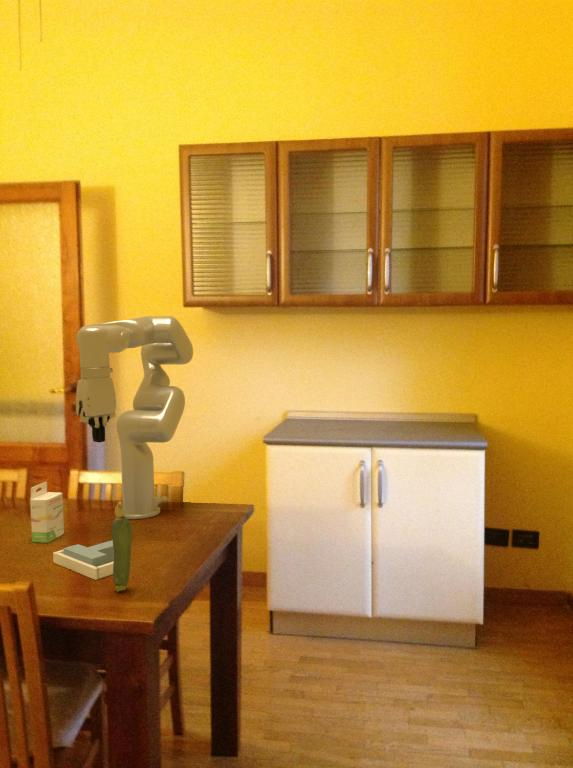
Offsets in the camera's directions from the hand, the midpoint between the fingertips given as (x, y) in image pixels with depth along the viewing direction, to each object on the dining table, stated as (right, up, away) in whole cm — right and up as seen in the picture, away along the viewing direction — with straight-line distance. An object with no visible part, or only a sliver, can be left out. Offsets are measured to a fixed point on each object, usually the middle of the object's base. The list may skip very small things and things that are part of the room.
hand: (99, 441), depth 186 cm
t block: (+5, -28, -19) cm, 34 cm away
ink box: (-14, -27, +2) cm, 30 cm away
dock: (+3, -28, -22) cm, 36 cm away
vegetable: (+15, -30, -36) cm, 49 cm away
